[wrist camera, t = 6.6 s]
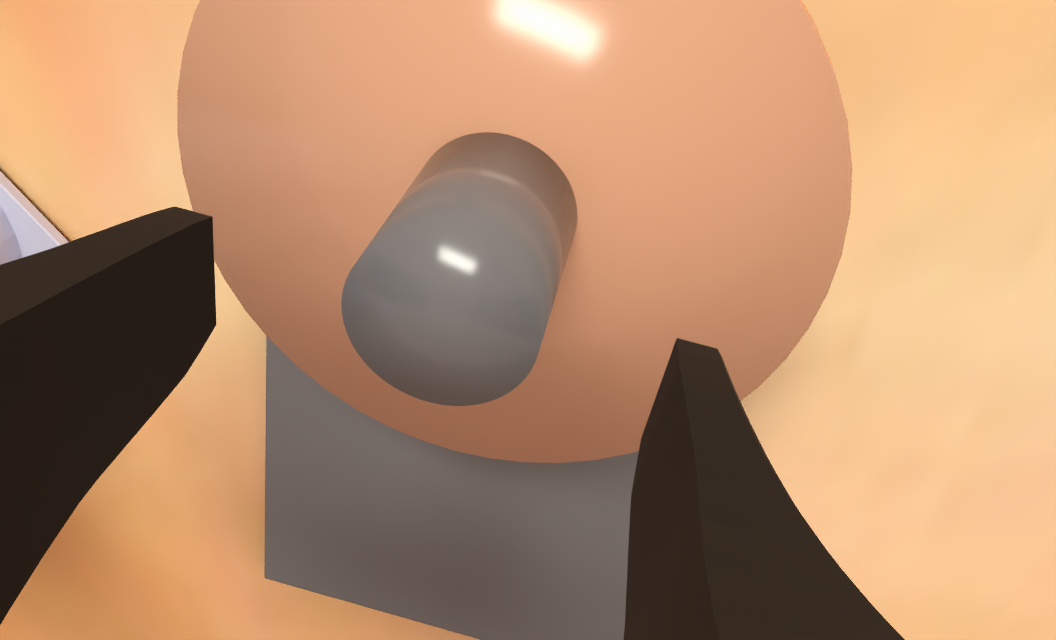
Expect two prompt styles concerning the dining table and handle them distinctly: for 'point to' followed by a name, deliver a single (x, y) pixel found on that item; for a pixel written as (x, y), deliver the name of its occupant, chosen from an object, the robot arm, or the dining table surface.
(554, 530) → the mat
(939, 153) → the dining table surface
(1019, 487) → the dining table surface
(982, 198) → the dining table surface
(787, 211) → the lid
